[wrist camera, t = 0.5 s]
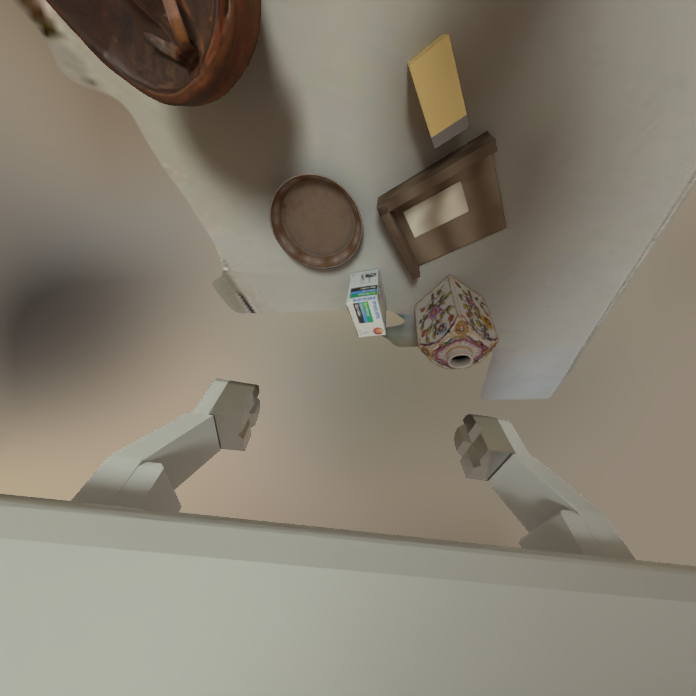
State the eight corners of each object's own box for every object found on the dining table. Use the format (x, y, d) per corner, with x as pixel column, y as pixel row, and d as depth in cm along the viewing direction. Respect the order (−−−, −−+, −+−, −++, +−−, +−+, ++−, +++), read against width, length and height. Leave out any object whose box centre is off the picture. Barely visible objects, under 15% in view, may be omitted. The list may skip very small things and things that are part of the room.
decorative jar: (446, 326, 69) (457, 384, 57) (412, 306, 65) (417, 364, 53) (486, 297, 60) (508, 358, 49) (450, 272, 56) (465, 332, 45)
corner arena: (487, 131, 38) (495, 139, 35) (505, 226, 48) (512, 238, 45) (377, 197, 47) (376, 208, 44) (411, 267, 56) (413, 279, 54)
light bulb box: (350, 272, 59) (344, 304, 53) (379, 267, 58) (377, 299, 51) (361, 307, 67) (357, 339, 60) (387, 304, 65) (386, 335, 58)
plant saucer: (254, 206, 51) (249, 213, 49) (324, 143, 42) (321, 148, 40) (314, 273, 61) (311, 281, 59) (380, 234, 52) (380, 242, 50)
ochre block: (442, 33, 32) (448, 33, 28) (461, 117, 37) (469, 126, 34) (407, 63, 34) (408, 66, 30) (430, 138, 40) (434, 149, 36)
